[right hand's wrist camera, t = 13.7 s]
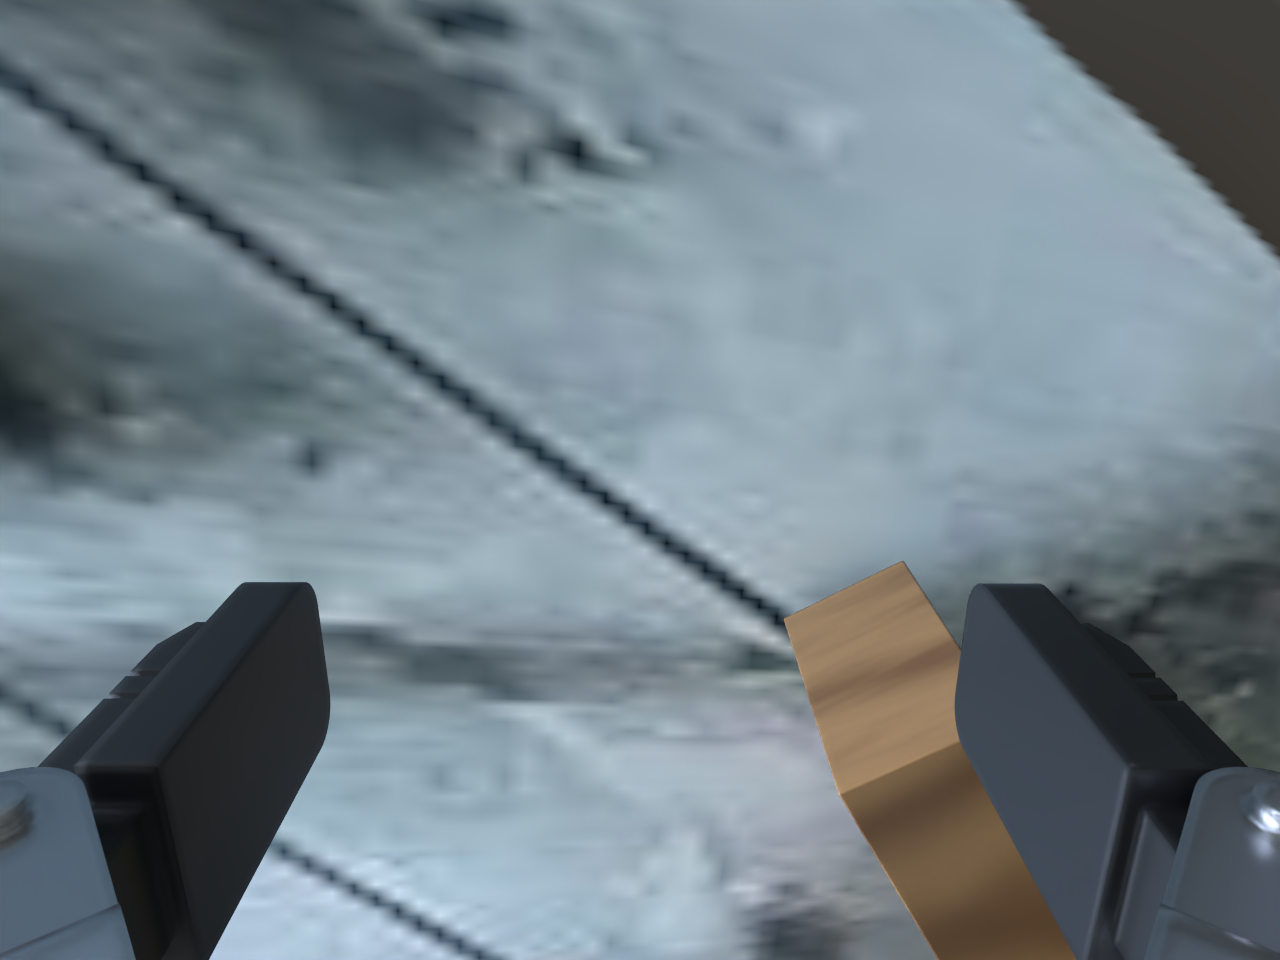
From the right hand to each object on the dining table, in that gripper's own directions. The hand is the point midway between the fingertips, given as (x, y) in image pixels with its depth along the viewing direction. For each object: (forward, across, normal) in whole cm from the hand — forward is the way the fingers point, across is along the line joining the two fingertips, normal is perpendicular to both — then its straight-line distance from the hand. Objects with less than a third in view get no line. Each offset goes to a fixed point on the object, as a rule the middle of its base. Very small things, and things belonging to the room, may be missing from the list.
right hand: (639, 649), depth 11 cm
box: (+27, -16, +25) cm, 40 cm away
